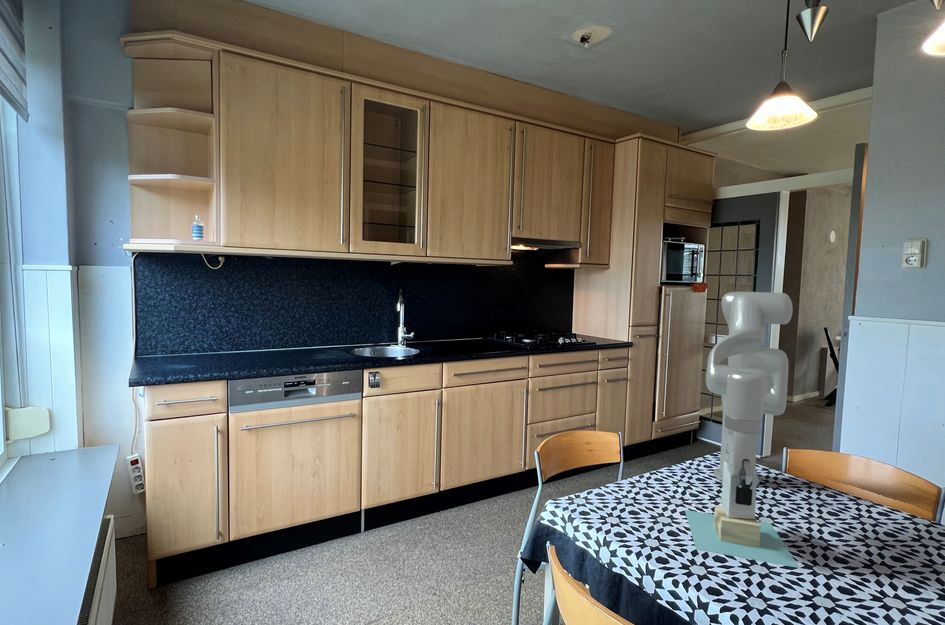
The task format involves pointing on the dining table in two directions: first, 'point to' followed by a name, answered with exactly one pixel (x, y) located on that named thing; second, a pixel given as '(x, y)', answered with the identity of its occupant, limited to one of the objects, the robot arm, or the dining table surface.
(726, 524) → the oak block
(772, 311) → the robot arm
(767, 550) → the base board
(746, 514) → the skincare box
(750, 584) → the dining table surface
